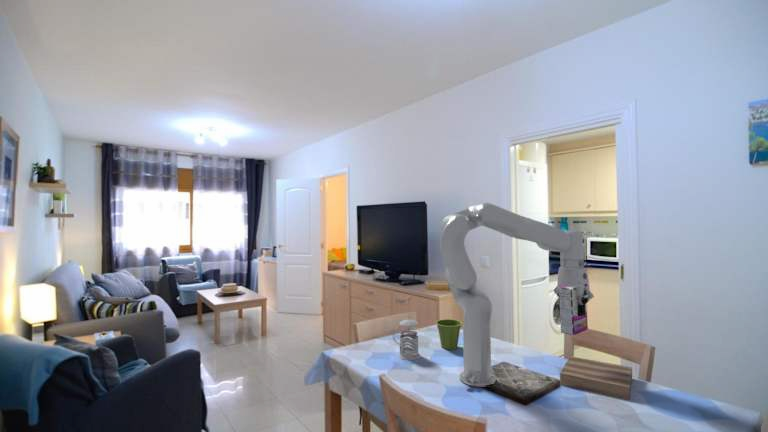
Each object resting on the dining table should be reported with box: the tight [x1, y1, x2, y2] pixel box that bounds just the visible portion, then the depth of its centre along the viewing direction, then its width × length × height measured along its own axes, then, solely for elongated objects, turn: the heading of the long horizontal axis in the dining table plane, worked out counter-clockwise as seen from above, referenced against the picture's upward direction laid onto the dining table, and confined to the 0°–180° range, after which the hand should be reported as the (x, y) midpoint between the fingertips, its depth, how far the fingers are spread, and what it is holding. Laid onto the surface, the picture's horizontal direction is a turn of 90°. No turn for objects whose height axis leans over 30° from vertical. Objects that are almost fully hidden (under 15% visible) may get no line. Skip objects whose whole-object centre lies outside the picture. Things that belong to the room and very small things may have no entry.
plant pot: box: [435, 318, 463, 351], centre depth 169 cm, size 12×12×11 cm
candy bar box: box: [558, 287, 589, 336], centre depth 136 cm, size 11×5×16 cm, turn 128°
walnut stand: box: [559, 355, 633, 401], centre depth 130 cm, size 20×20×4 cm
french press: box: [392, 296, 421, 361], centre depth 159 cm, size 10×12×25 cm
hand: (573, 313), depth 136 cm, fingers closed on candy bar box, 5 cm apart
